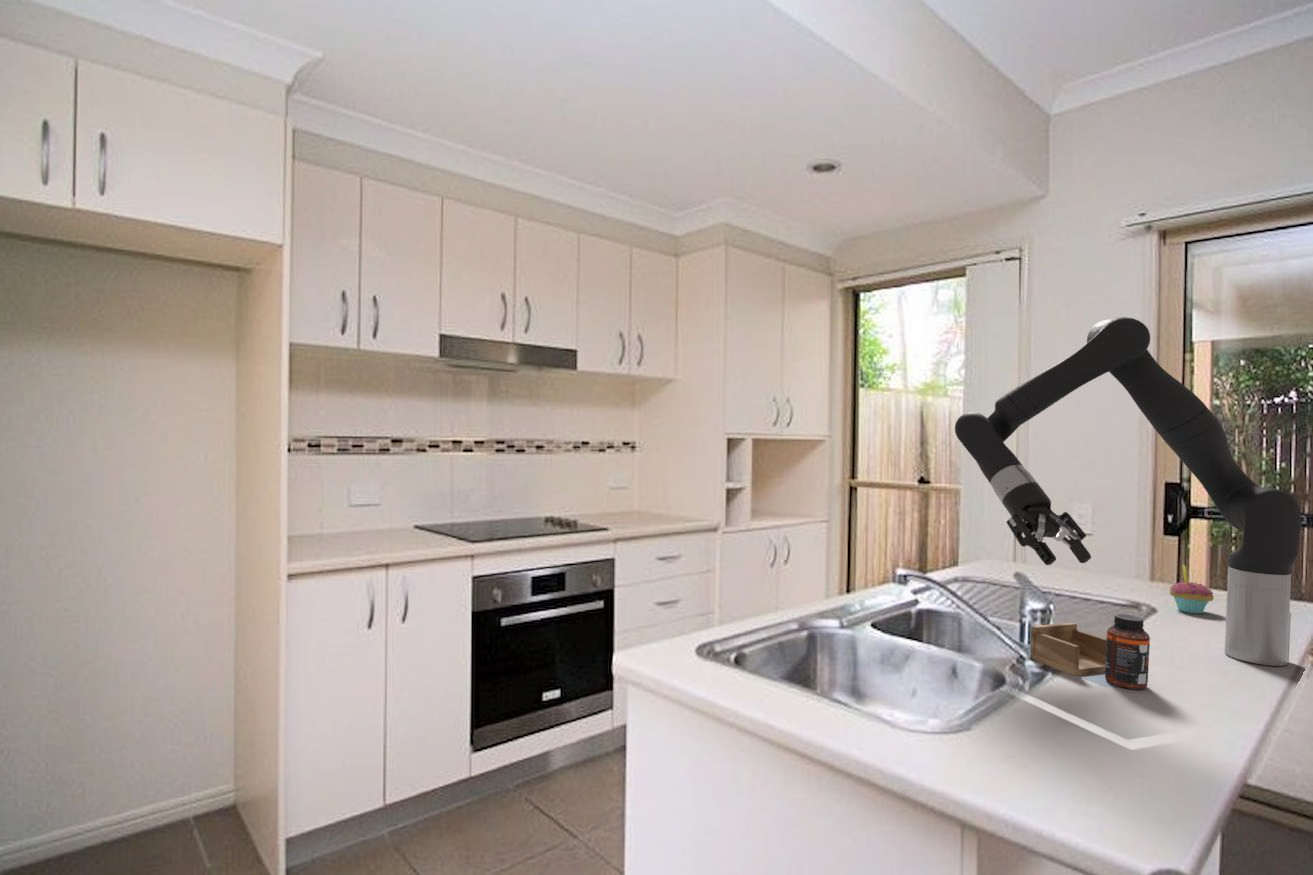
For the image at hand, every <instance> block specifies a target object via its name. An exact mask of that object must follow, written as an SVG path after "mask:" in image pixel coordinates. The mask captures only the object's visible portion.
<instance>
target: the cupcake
mask: <svg viewBox="0 0 1313 875" xmlns="http://www.w3.org/2000/svg"><path fill="white" fill-rule="evenodd" d="M1181 567H1182V573H1183V575H1182V576H1183V582H1177V583H1174V584H1173V585H1172V586H1170V588H1169V595H1170V596H1172V597H1173V598H1174V600H1175V602H1176V607H1177V609H1178V610H1179V611H1180V610H1181V611H1180V612H1182V611H1184V612H1183V613H1187V614H1193V613H1197V614H1198V613H1202V614H1203V613H1204V610H1205V609H1206V606H1207V604H1208V603H1209V602H1212V601H1213V600H1214V593H1213V592H1212V590H1211V589H1209V588H1208V587H1207V586H1205V585H1204V584H1202V583H1197V582H1189V581H1188V574H1187V573H1188V572H1187V567H1186V565H1185V564H1184V561H1182V566H1181ZM1197 614H1196V615H1197ZM1198 615H1199V614H1198Z"/></svg>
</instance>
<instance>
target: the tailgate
mask: <svg viewBox="0 0 1313 875" xmlns="http://www.w3.org/2000/svg"><path fill="white" fill-rule="evenodd" d="M1080 678H1082V679H1084V680H1086V681H1089V682H1091V683H1095V684H1097V685H1099V686H1102V687H1105V688H1107V689H1109V688H1116V687H1118V686H1116V685H1114V684H1112V683H1110V682H1108V681H1107V680H1106V678H1105V673H1104V674H1103V673H1102V674H1097V675H1095V674H1094V675H1090V676H1088V675H1087V676H1081V677H1080Z"/></svg>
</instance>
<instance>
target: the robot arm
mask: <svg viewBox="0 0 1313 875" xmlns="http://www.w3.org/2000/svg"><path fill="white" fill-rule="evenodd" d="M1150 342H1151V333H1150V331H1149V328H1148V326H1147V325H1146V324H1144V323H1143V322H1142V321H1140V320H1139V319H1137V318H1136V319H1135V318H1133V317H1125V316H1124V317H1121V316H1120V317H1113V318H1106V319H1103V320H1101V321H1098V322H1097V323H1095V324H1094V325H1093V326H1092V327H1091V328H1090V329H1089V331H1088V333H1087V339H1086V343H1085V344H1084V345H1083V346H1082V347H1081V348H1080V349H1078V350H1077V351H1075V352H1074V353H1073V354H1071V355H1070V356H1068V357H1066V358H1065V359H1063V360H1062V361H1060V362H1057V363H1056V364H1055V365H1053V366H1051V367H1049V368H1047V369H1045V370H1043V371H1041V372H1039V373H1038V374H1035V375H1034V376H1032V377H1030V378H1028V379H1027V380H1025V381H1023V382H1022V383H1020V384H1019V385H1017V386H1015V387H1014V388H1013V389H1011V390H1009V391H1008V392H1006V393H1005V394H1003V395H1002V396H1001V397H999V398H998V399H997V400H995V404H994V411H993V412H992V413H991V414H990V415H989V416H988V417H987V416H985V415H984V414H981V413H979V412H976V411H971V412H970V411H969V412H965V413H964V414H961V415H960V416H959V417H958V418H957V420H956V422H955V425H954V433H955V436H956V437H957V439H958V440H959V442H960V443H961V444H962V446H963V447H964V448H965V450H966V451H967V452H968V453H969V454H970V456H971V457H972V458H973V459H974V461H976V464H977V465H978V467H979V468H980V471H981V472H982V474H983V475H984V477H985V478H986V479H987V481H988V482H989V484H990V486H991V487H992V489H993V491H994V493H995V496H997V498H998V500H1000V502H1001V504H1002V505H1003V507H1004V508H1005V509H1006V510H1007V513H1009V515H1010V518H1008V520H1007V521H1006V525H1008V528H1009V529H1010V530H1011V533H1012V534H1013V536H1014V537H1015V538H1016V540H1017V542H1018V544H1019V545H1020V546H1022V547H1026V546H1027V547H1029V548H1030V549H1031V550H1034V552H1035V553H1036V555H1037V556H1038V557H1039V558H1040V559H1039V560H1041V561H1042V562H1043V564H1044V565H1045V566H1051V565H1052V564H1053V563H1055V561H1056V560H1057V558H1056V555H1055V554H1054V553H1053V551H1052V550H1051V549H1050V546H1048V544H1047V543H1046V541H1044V538H1052V539H1054V540H1055V541H1056V542H1062V543H1063V544H1065V545H1067V546H1068V547H1069V550H1071V552H1072V554H1073V555H1074V556H1075V557H1076V559H1077V561H1078V562H1079V563H1081V564H1085V563H1087V562H1088V561H1090V560H1091V559H1092V555H1091V553H1090V552H1089V551H1088V549H1087V548H1086V547H1085V545H1084V544H1083V543H1082V541H1083V540H1084V539H1085V538H1086V537H1087V534H1086V533H1085V532H1084V530H1082V528H1081V527H1080V526H1079V524H1078V523H1077V522H1076V520H1074V518H1073V517H1072V516H1071V515H1070V514H1069V513H1068V512H1067V511H1064V512H1063V513H1061V514H1058V515H1057V513H1055V512H1054V511H1053V510H1052V500H1051V499H1050V498H1049V496H1048V495H1047V493H1046V492H1045V491H1044V490H1043V488H1042V487H1041V486H1040V484H1039V483H1038V481H1037V480H1036V479H1035V477H1034V476H1033V475H1032V473H1031V472H1029V471H1028V470H1027V469H1026V468H1025V466H1024V465H1023V464H1022V463H1021V460H1019V459H1018V458H1017V456H1016V455H1015V454H1014V453H1013V451H1012V450H1011V449H1010V448H1009V447H1008V446H1007V445H1006V444H1005V443H1004V442H1006V441H1007V439H1009V437H1011V436H1012V434H1014V433H1015V431H1016V430H1018V428H1019V427H1020V426H1022V425H1023V424H1025V423H1026V422H1028V421H1030V420H1031V419H1033V418H1034V417H1036V416H1037V415H1039V414H1040V413H1042V412H1044V411H1045V410H1047V409H1048V408H1049V407H1051V406H1053V405H1055V403H1057V402H1058V401H1060V400H1061V399H1064V398H1065V397H1067V395H1069V394H1071V393H1072V392H1074V391H1075V390H1078V389H1079V388H1081V387H1082V386H1084V385H1086V384H1088V383H1089V382H1091V381H1093V380H1095V379H1097V378H1099V377H1100V376H1103V375H1104V374H1107V373H1110V375H1112V377H1114V378H1115V379H1116V380H1117V381H1118V383H1119V384H1121V385H1122V387H1123V388H1124V389H1125V390H1126V392H1127V393H1128V395H1130V397H1131V399H1132V400H1133V402H1134V404H1136V406H1137V407H1138V409H1139V410H1140V412H1142V414H1143V415H1144V417H1145V418H1146V419H1147V420H1148V422H1149V423H1150V425H1151V426H1152V428H1153V429H1154V430H1155V431H1156V432H1157V434H1158V435H1159V436H1160V437H1161V438H1162V440H1163V441H1164V442H1165V443H1166V445H1168V447H1169V448H1170V449H1171V450H1172V451H1173V452H1174V453H1175V455H1176V456H1177V458H1179V459H1180V460H1181V462H1182V464H1184V465H1185V466H1186V467H1187V469H1188V470H1189V472H1191V473H1192V474H1193V476H1194V477H1195V478H1196V479H1197V480H1198V481H1199V483H1200V484H1201V486H1202V487H1203V488H1204V490H1205V491H1206V493H1207V495H1208V496H1209V498H1210V499H1211V500H1212V502H1213V503H1214V506H1215V507H1216V508H1217V510H1218V511H1219V514H1221V516H1222V517H1223V519H1224V520H1225V521H1226V522H1227V524H1229V525H1230V526H1231V527H1233V528H1234V529H1237V530H1239V531H1241V532H1243V533H1242V535H1243V537H1242V543H1241V545H1240V547H1239V548H1238V549H1236V550H1233V551H1231V552H1229V554H1228V564H1227V588H1226V589H1227V590H1226V592H1227V593H1226V609H1225V610H1226V612H1225V614H1226V615H1225V632H1224V633H1225V635H1224V654H1225V655H1227V656H1228V657H1231V658H1234V659H1236V660H1239V661H1243V662H1248V663H1252V664H1257V665H1263V666H1273V667H1279V666H1280V667H1283V666H1286V665H1288V662H1289V661H1290V644H1291V643H1290V641H1291V620H1292V617H1291V616H1292V613H1291V611H1290V607H1291V589H1292V588H1291V587H1292V586H1291V585H1292V581H1291V580H1292V569H1293V565H1294V563H1295V562H1296V560H1297V558H1298V554H1299V547H1300V539H1301V538H1300V537H1301V531H1302V510H1301V506H1300V504H1299V502H1298V500H1297V499H1296V498H1295V496H1293V495H1292V494H1291V493H1289V492H1287V491H1285V490H1282V489H1278V488H1270V487H1263V486H1259V485H1257V483H1255V482H1254V481H1253V480H1252V479H1250V477H1249V476H1248V475H1247V474H1246V473H1245V472H1244V471H1243V469H1241V467H1239V465H1238V464H1237V463H1236V461H1235V459H1234V457H1233V455H1232V453H1231V450H1230V446H1229V442H1228V436H1227V434H1226V432H1225V430H1224V428H1223V427H1224V426H1223V425H1222V424H1221V422H1220V421H1219V419H1218V418H1216V416H1215V415H1214V413H1212V411H1211V409H1209V407H1207V405H1206V404H1205V403H1204V401H1202V400H1201V399H1200V397H1198V396H1197V395H1196V394H1195V393H1194V392H1192V391H1191V390H1190V389H1189V388H1188V387H1186V386H1185V385H1184V384H1183V383H1182V382H1181V381H1179V380H1178V379H1176V378H1175V377H1173V375H1171V374H1170V373H1168V372H1167V371H1166V370H1165V369H1164V368H1163V367H1162V366H1161V365H1160V364H1159V363H1158V362H1157V360H1156V359H1155V358H1154V357H1153V355H1151V353H1150V351H1149V350H1148V348H1149V345H1150V344H1151V343H1150ZM1060 529H1061V530H1062V531H1061V530H1060ZM1060 531H1061V532H1060ZM1059 532H1060V533H1059ZM1075 532H1076V533H1075ZM1023 535H1024V536H1023ZM1066 536H1067V537H1068V538H1067V537H1066ZM1043 541H1044V542H1043Z"/></svg>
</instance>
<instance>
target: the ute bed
mask: <svg viewBox="0 0 1313 875" xmlns="http://www.w3.org/2000/svg"><path fill="white" fill-rule="evenodd" d="M1030 634H1031V636H1030V658H1032V659H1033V660H1032V659H1031V660H1032V661H1036V662H1037V663H1040V664H1043V665H1045V666H1048V667H1050V668H1052V669H1055V670H1058V671H1060V672H1063V673H1066V674H1068V675H1071V676H1073V677H1075V676H1076V677H1077V676H1085V675H1095V674H1101V673H1102V674H1103V673H1105V663H1106V641H1107V637H1106V638H1105V637H1102V636H1099V635H1096V634H1093V633H1089V632H1087V631H1084V630H1081V629H1078V623H1076V622H1063V623H1050V624H1041V625H1031V632H1030Z"/></svg>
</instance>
